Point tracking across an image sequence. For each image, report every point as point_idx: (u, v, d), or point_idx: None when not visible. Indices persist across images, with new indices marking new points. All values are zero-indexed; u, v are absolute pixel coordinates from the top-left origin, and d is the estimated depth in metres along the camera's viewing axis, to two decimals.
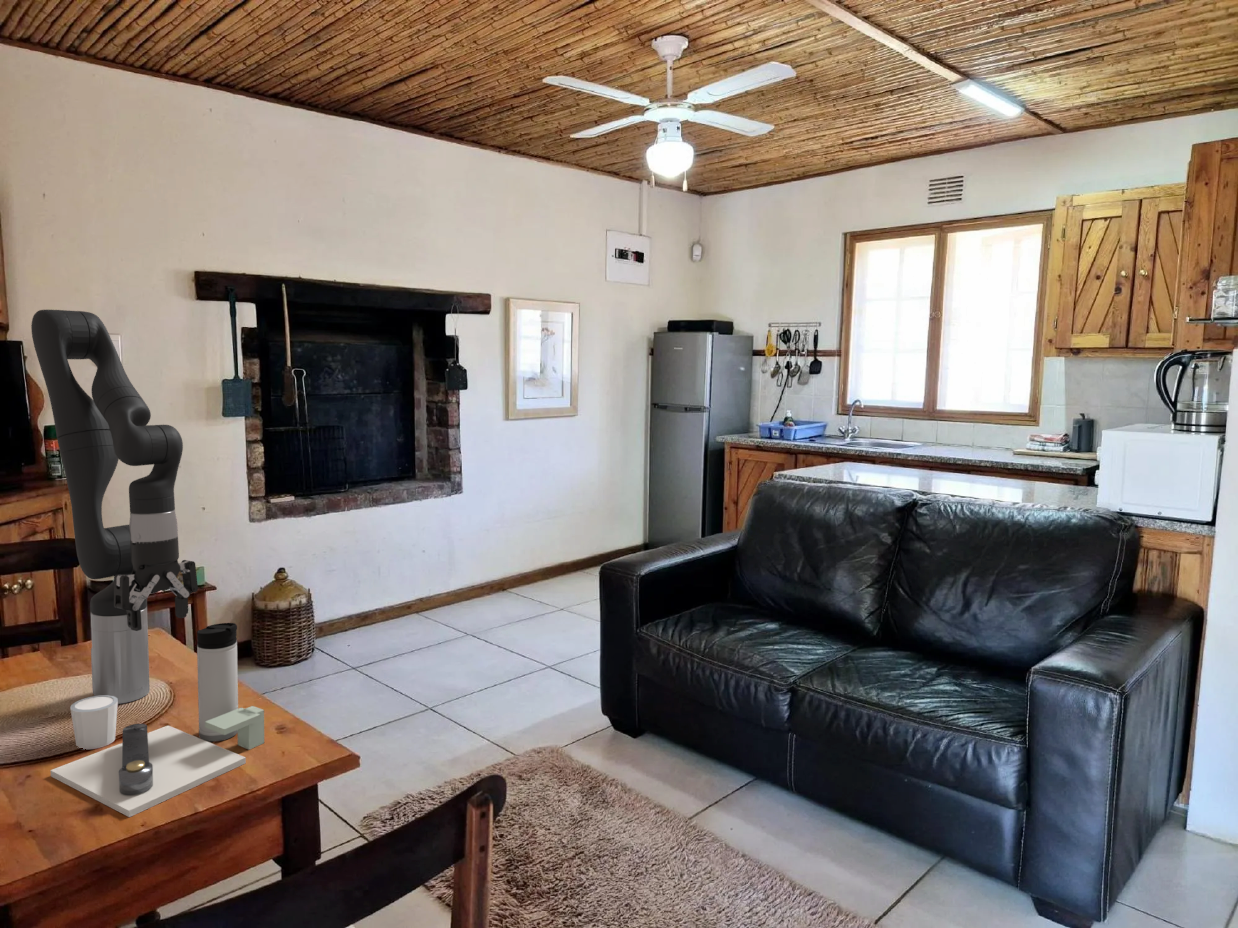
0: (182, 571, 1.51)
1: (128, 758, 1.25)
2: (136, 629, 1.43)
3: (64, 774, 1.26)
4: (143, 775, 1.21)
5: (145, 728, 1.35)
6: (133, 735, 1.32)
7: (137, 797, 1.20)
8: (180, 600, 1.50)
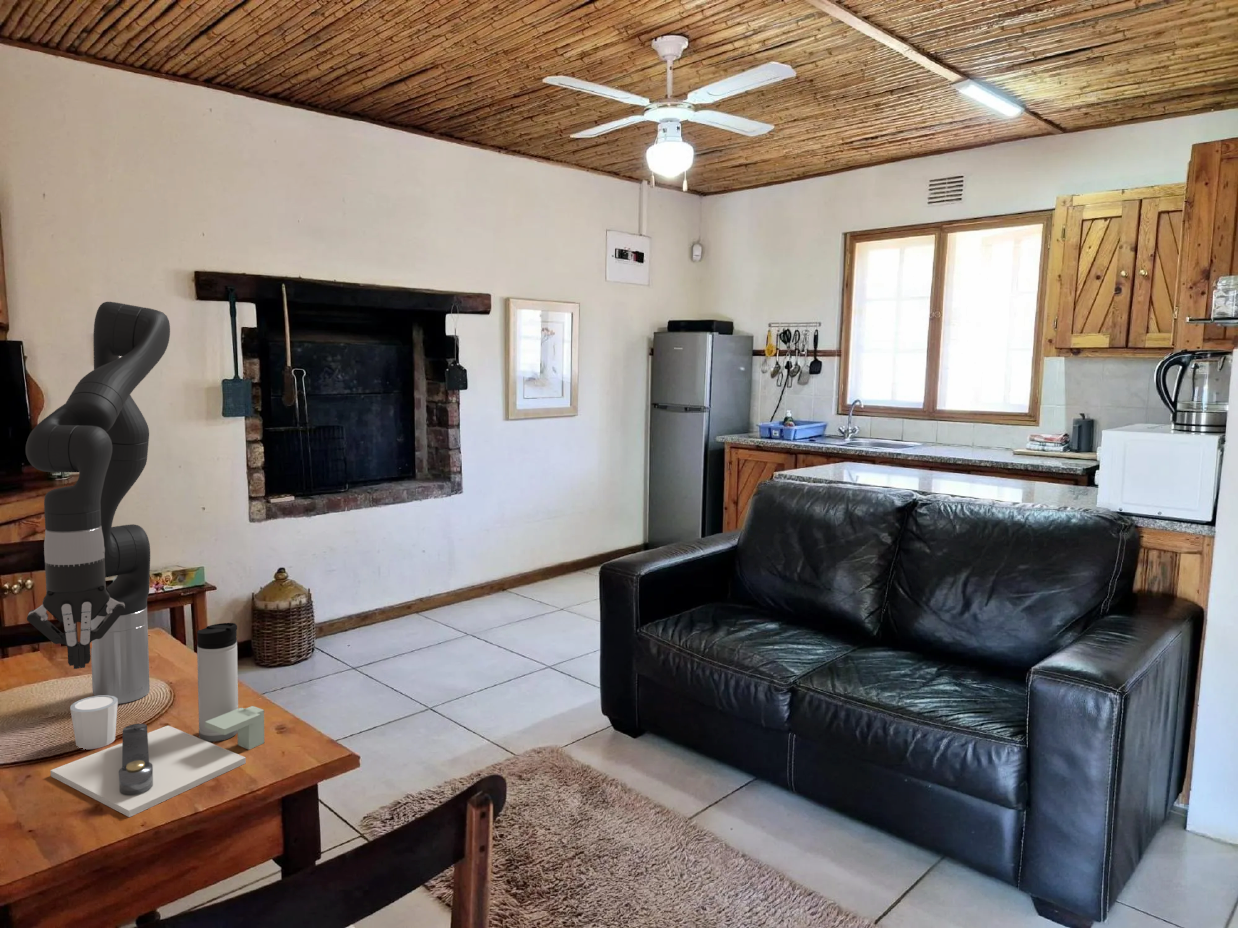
0: (47, 614, 1.21)
1: (128, 758, 1.25)
2: None
3: (64, 774, 1.26)
4: (143, 775, 1.21)
5: (145, 728, 1.35)
6: (133, 735, 1.32)
7: (137, 797, 1.20)
8: (78, 644, 1.24)
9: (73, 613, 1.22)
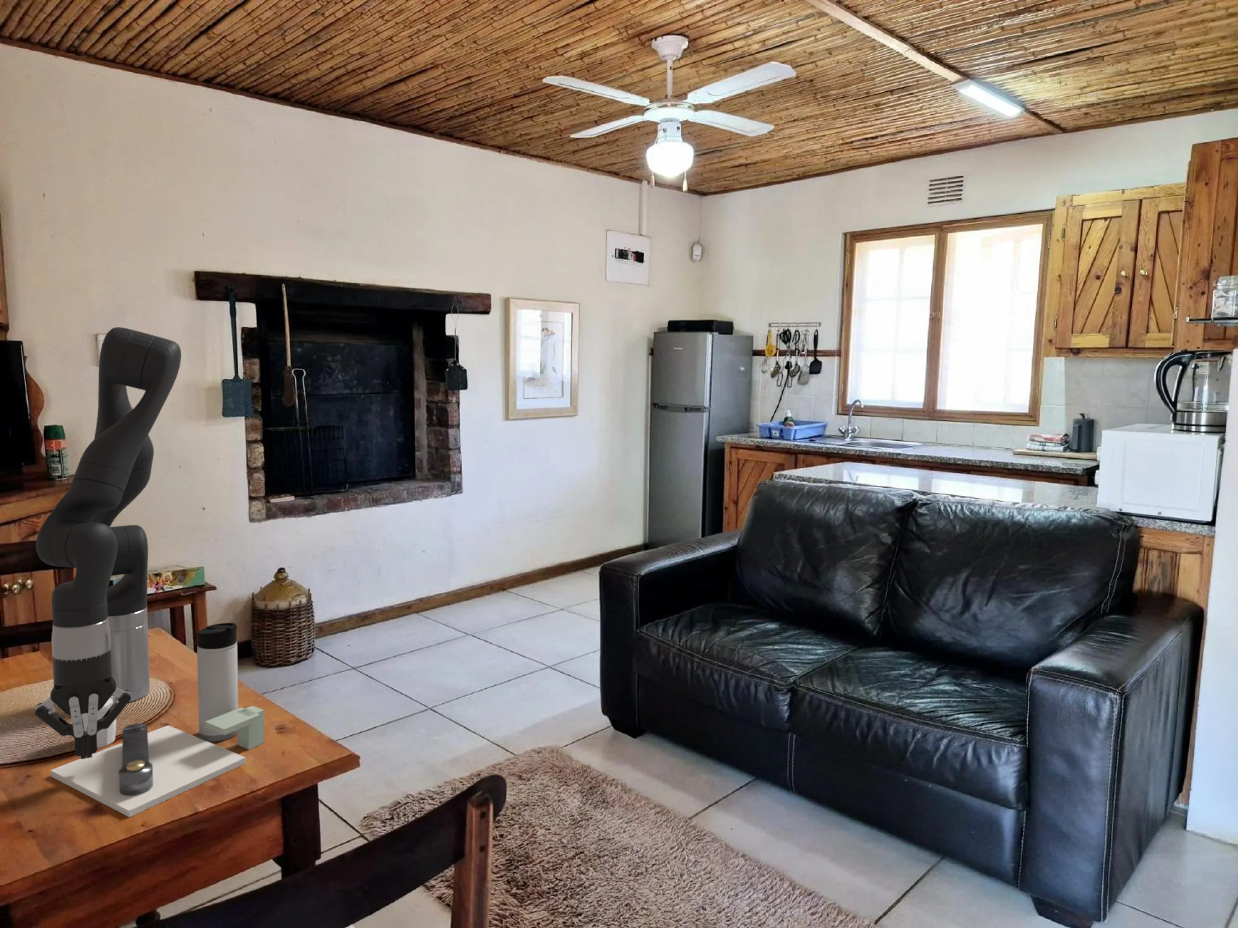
0: (54, 706, 1.23)
1: (128, 758, 1.25)
2: None
3: (64, 774, 1.26)
4: (143, 775, 1.21)
5: (145, 728, 1.35)
6: (133, 735, 1.32)
7: (137, 797, 1.20)
8: (85, 734, 1.26)
9: (80, 705, 1.24)
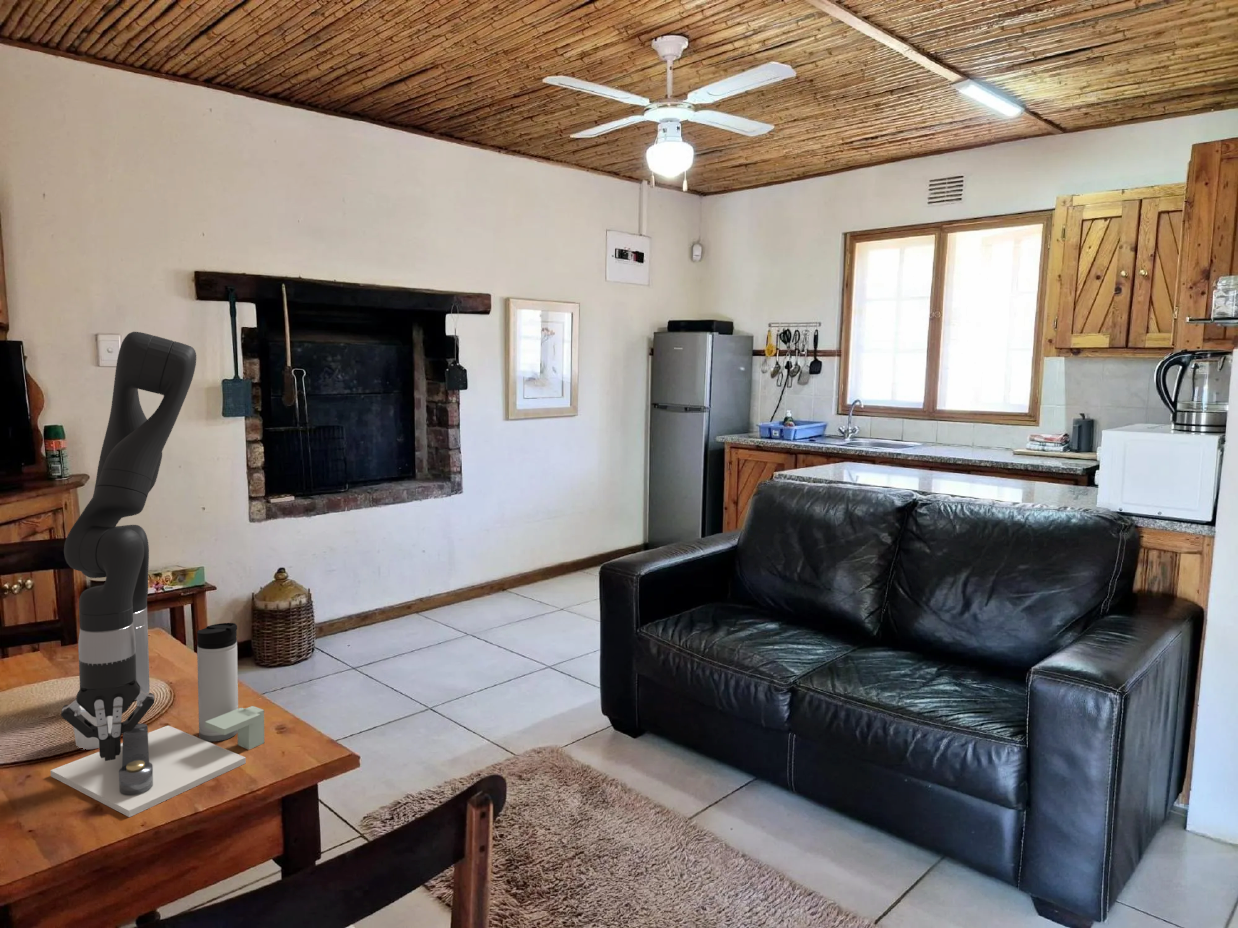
0: (80, 709, 1.25)
1: (128, 758, 1.25)
2: None
3: (64, 774, 1.26)
4: (143, 775, 1.21)
5: (145, 728, 1.35)
6: (133, 735, 1.32)
7: (137, 797, 1.20)
8: None
9: (105, 708, 1.26)
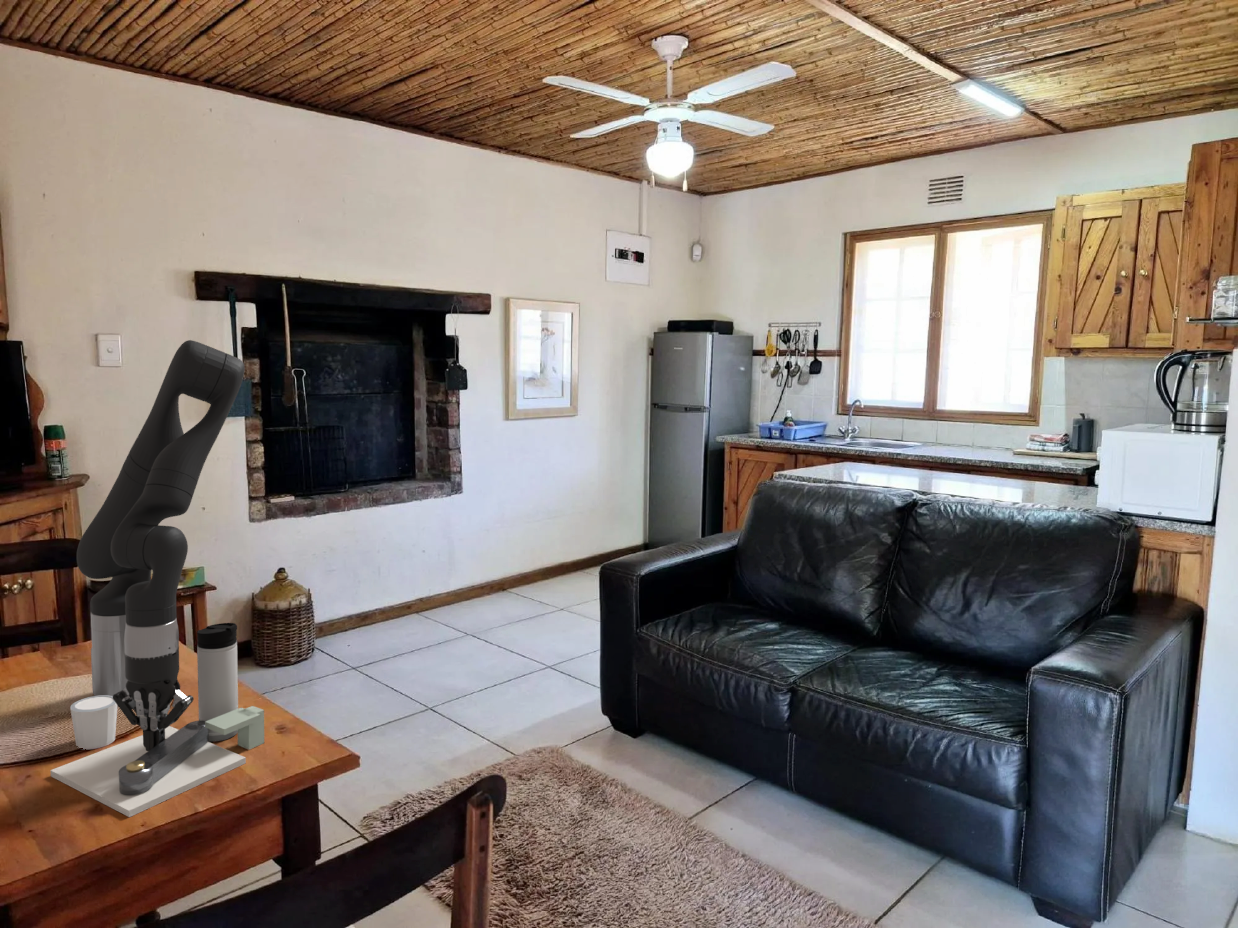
0: None
1: (147, 755, 1.26)
2: None
3: (64, 774, 1.26)
4: (132, 778, 1.20)
5: (202, 727, 1.36)
6: (184, 732, 1.34)
7: (137, 797, 1.20)
8: None
9: (145, 700, 1.29)
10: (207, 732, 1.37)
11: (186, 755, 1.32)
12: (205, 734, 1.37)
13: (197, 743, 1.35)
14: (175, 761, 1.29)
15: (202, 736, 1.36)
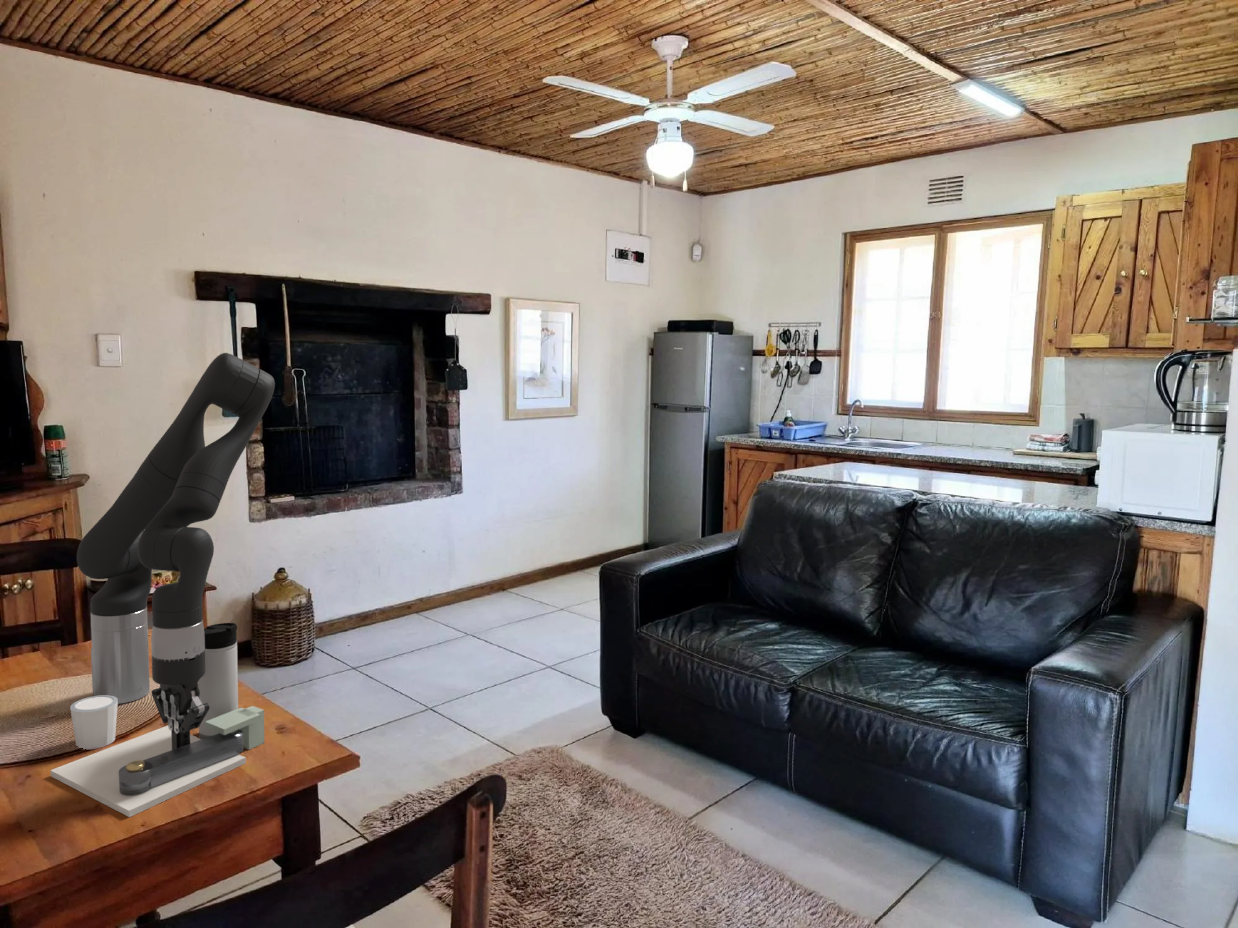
0: None
1: (159, 757, 1.26)
2: None
3: (64, 774, 1.26)
4: (124, 778, 1.20)
5: (231, 738, 1.33)
6: (214, 739, 1.32)
7: (137, 797, 1.20)
8: None
9: None
10: (238, 744, 1.34)
11: (204, 763, 1.29)
12: (235, 745, 1.33)
13: (222, 753, 1.32)
14: (186, 768, 1.27)
15: (230, 747, 1.33)
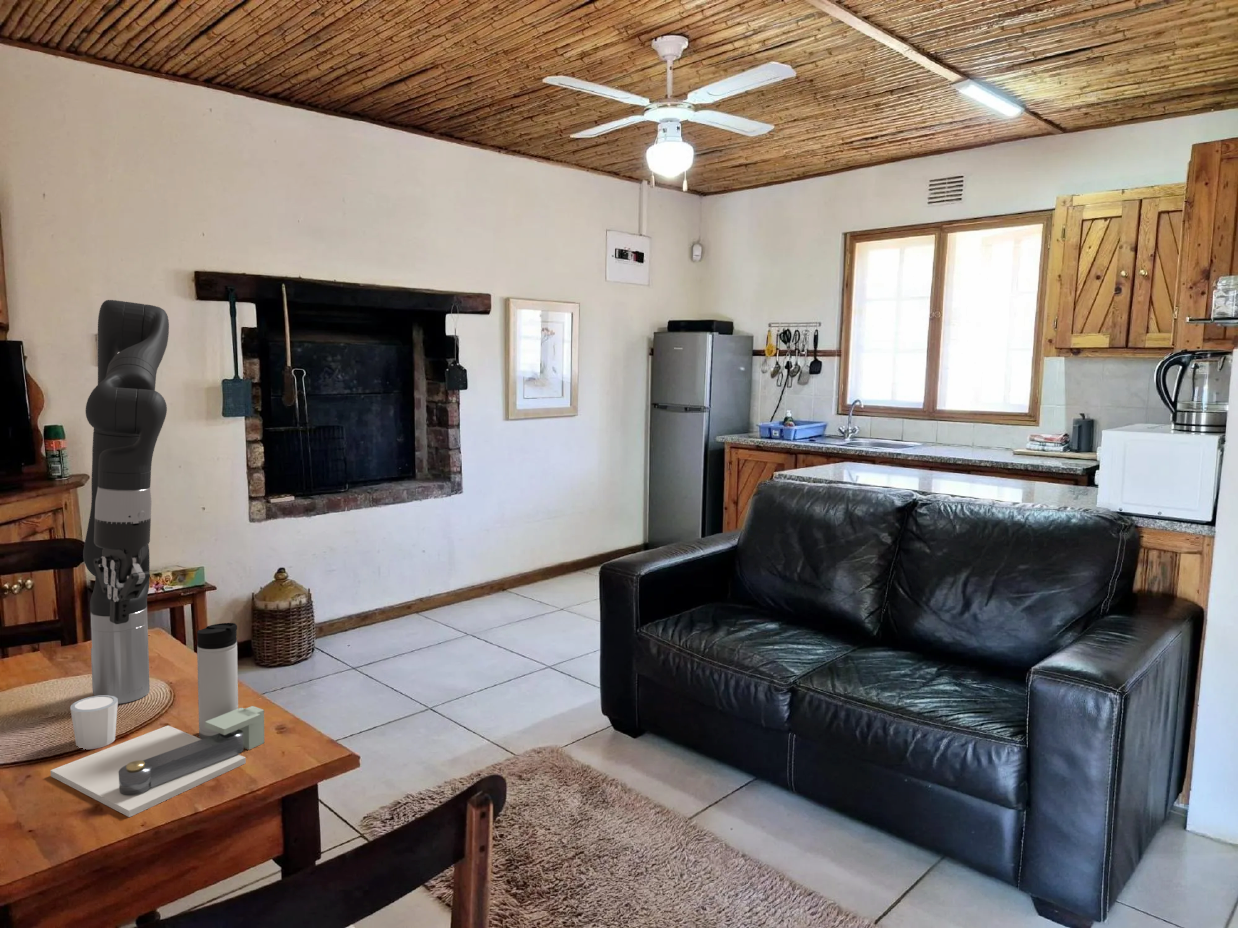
0: None
1: (159, 757, 1.26)
2: (126, 620, 1.29)
3: (64, 774, 1.26)
4: (124, 778, 1.20)
5: (231, 738, 1.33)
6: (214, 739, 1.32)
7: (137, 797, 1.20)
8: None
9: None
10: (238, 744, 1.34)
11: (204, 763, 1.29)
12: (235, 745, 1.33)
13: (222, 753, 1.32)
14: (186, 768, 1.27)
15: (230, 747, 1.33)
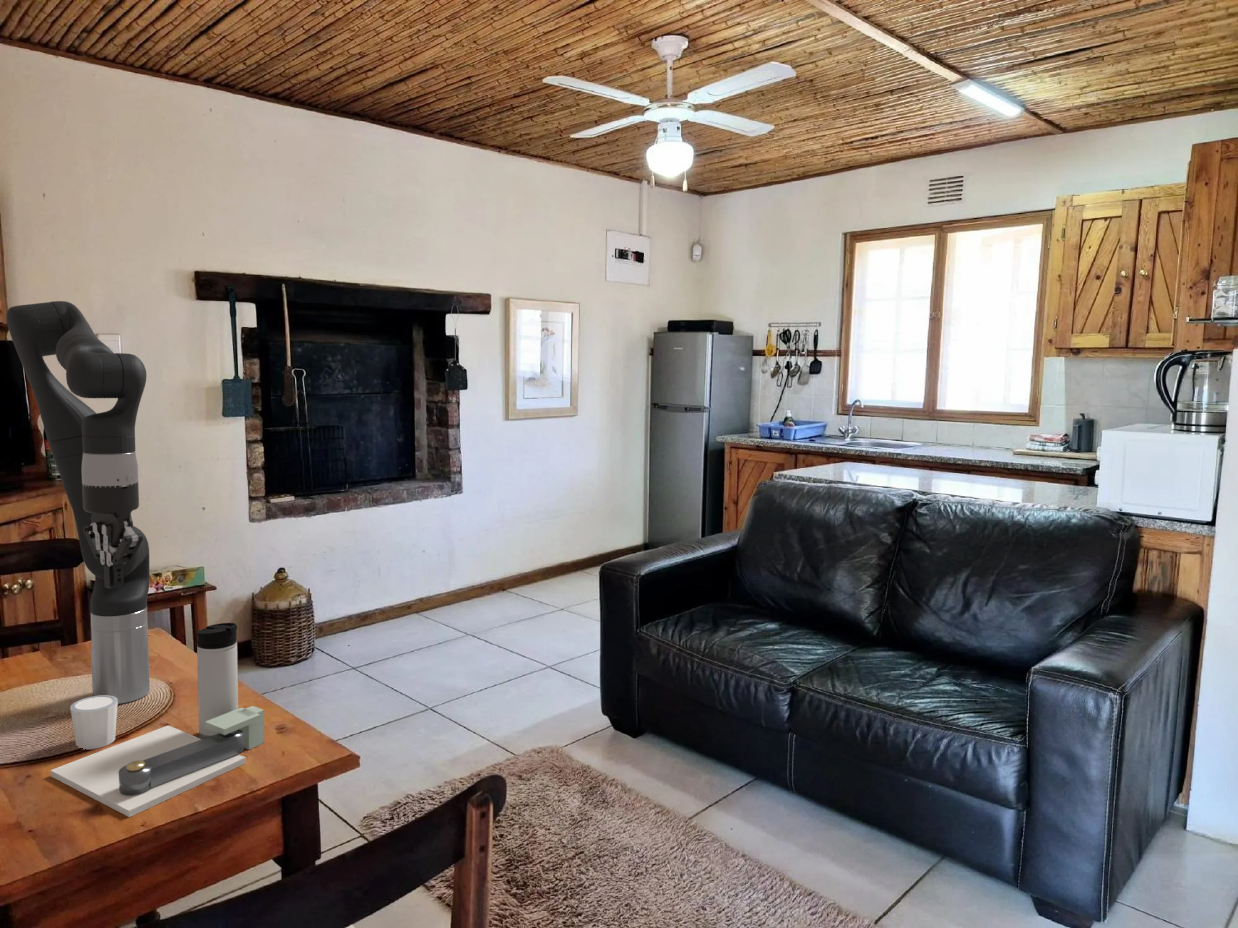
0: None
1: (159, 757, 1.26)
2: (121, 585, 1.30)
3: (64, 774, 1.26)
4: (124, 778, 1.20)
5: (231, 738, 1.33)
6: (214, 739, 1.32)
7: (137, 797, 1.20)
8: None
9: (103, 533, 1.28)
10: (238, 744, 1.34)
11: (204, 763, 1.29)
12: (235, 745, 1.33)
13: (222, 753, 1.32)
14: (186, 768, 1.27)
15: (230, 747, 1.33)
